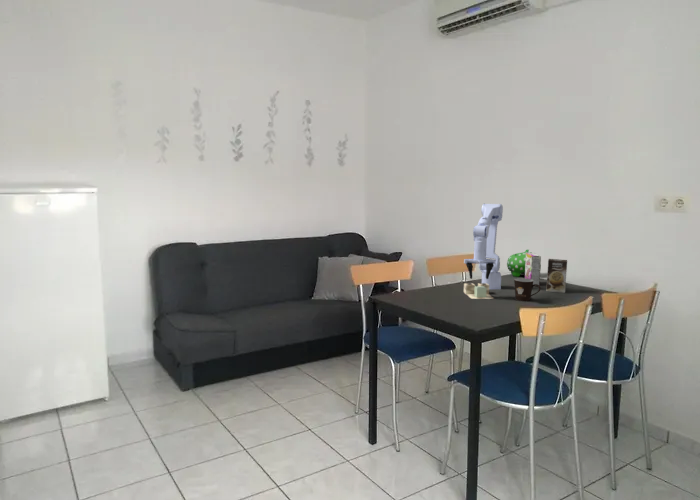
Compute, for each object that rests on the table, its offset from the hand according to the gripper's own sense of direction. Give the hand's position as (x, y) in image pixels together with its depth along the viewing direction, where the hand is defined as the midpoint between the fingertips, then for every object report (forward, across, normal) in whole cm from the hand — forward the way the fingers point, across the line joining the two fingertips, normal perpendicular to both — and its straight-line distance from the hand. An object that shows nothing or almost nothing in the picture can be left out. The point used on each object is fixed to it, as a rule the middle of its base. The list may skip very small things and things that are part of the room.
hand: (479, 278), depth 252 cm
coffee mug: (+10, +20, -6) cm, 24 cm away
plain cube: (+9, +1, 0) cm, 9 cm away
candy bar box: (+9, +36, +34) cm, 50 cm away
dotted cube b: (+9, -3, +7) cm, 12 cm away
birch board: (+9, +1, +3) cm, 10 cm away
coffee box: (+9, +43, +17) cm, 47 cm away
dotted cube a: (+9, +4, +8) cm, 12 cm away
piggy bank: (+9, +38, +57) cm, 69 cm away
